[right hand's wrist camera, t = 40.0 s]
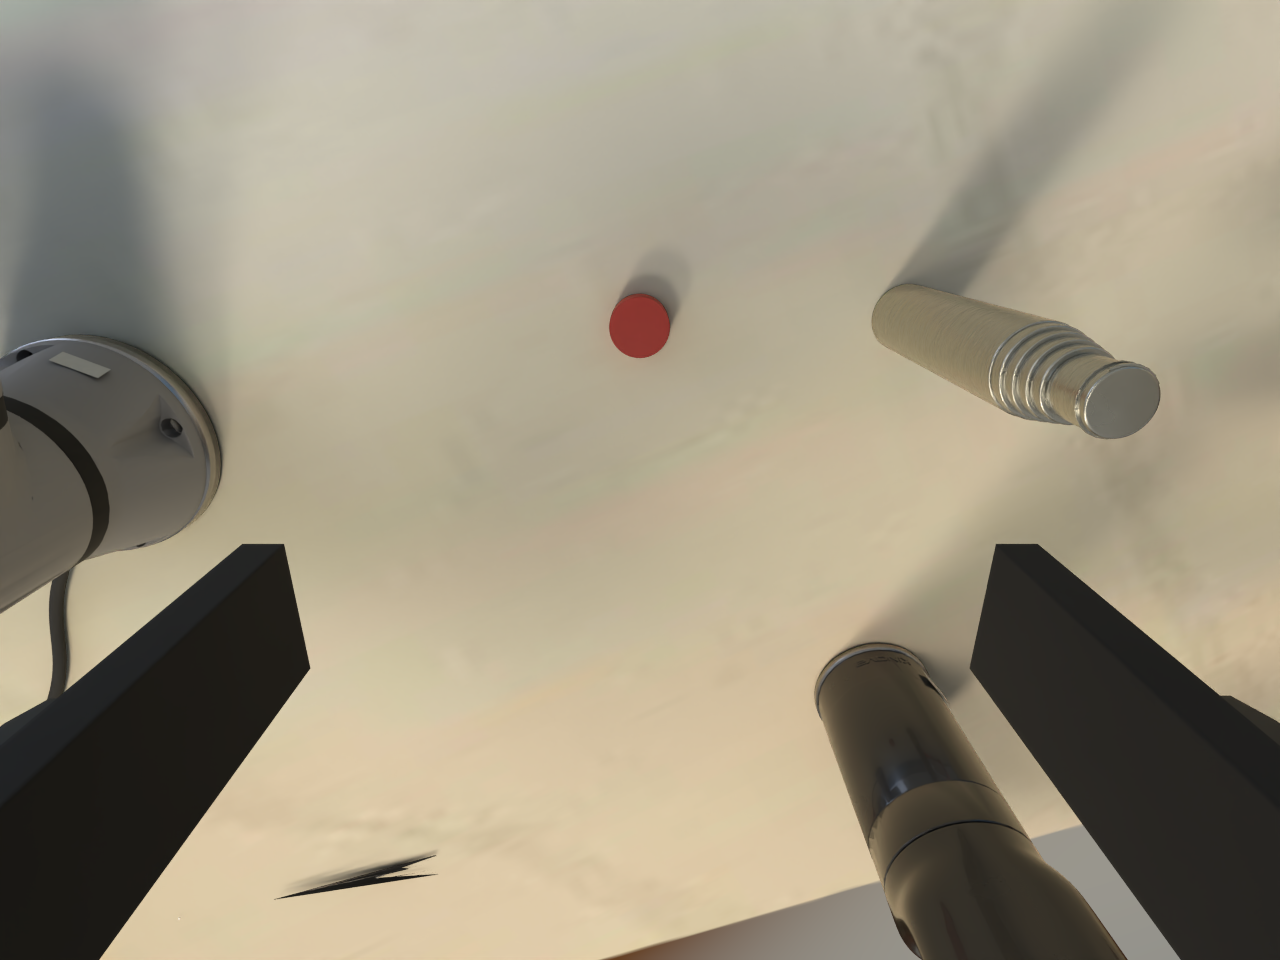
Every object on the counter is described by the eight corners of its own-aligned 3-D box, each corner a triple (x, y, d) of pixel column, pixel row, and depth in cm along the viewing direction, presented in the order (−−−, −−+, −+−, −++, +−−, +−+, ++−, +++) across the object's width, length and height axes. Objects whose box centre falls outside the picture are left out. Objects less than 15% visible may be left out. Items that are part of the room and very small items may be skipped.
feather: (186, 903, 67) (169, 913, 66) (445, 850, 64) (435, 859, 62) (188, 922, 67) (171, 932, 65) (449, 870, 63) (439, 879, 61)
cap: (654, 283, 45) (655, 286, 43) (677, 338, 46) (679, 343, 45) (600, 308, 45) (599, 311, 44) (624, 361, 47) (624, 367, 45)
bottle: (943, 336, 46) (1189, 436, 25) (880, 359, 47) (1071, 476, 26) (929, 273, 45) (1178, 325, 24) (864, 298, 45) (1053, 370, 25)
